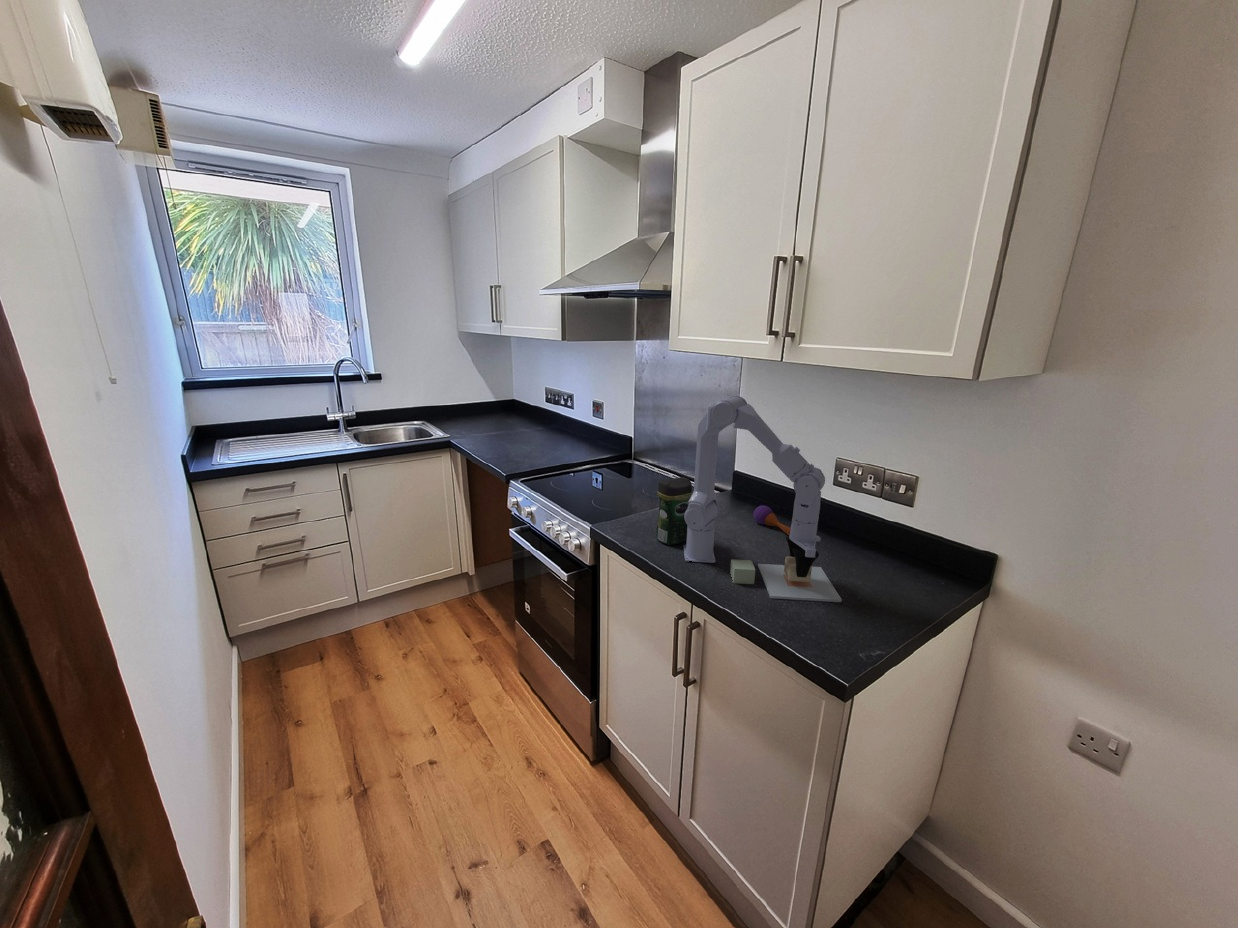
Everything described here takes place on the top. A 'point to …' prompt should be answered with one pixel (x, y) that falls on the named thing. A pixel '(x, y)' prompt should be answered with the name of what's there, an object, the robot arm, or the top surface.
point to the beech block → (794, 570)
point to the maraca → (769, 518)
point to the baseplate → (798, 585)
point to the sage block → (742, 571)
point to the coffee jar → (673, 510)
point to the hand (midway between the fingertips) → (798, 571)
